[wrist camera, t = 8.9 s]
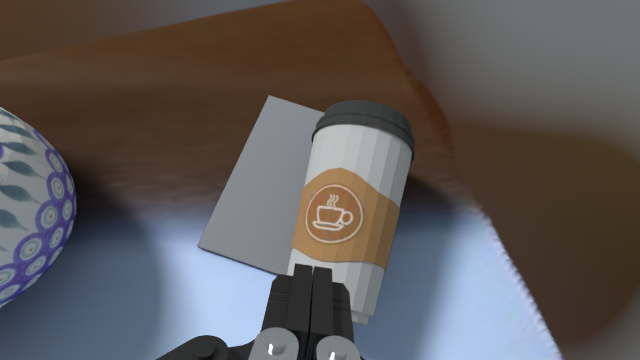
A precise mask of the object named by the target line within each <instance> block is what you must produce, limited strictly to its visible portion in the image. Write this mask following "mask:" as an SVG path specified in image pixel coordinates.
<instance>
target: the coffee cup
mask: <svg viewBox="0 0 640 360" xmlns="http://www.w3.org/2000/svg"><path fill="white" fill-rule="evenodd" d="M311 141H312V143H313V145H312V150H311V155H310V160H309V165H308V170H307V175H306V180H305V186H304V188H303V190H302V195H301V200H300V205H299V211H298V216H297V221H296V226H295V231H294V236H293V241H292V246H291V250H292V251H291V256H290V262H289V267H288V272H287V275H290V276H293V273H294V266H295V263H297V264H304V265H311V266H313V268H314V266H318V267H325V268H331V269H332V282H338V283H344V285H345V286H346V288H347V290H348V291H349V293H350V304H351V315H352V321H353V322H357V323H361V324H365V325H368V321H369V317H370V316H374V313H375V308H376V304H377V300H378V296H379V292H380V287H381V283H382V279H383V275H384V272H385V271H386V268H387V263H388V259H389V255H390V251H391V247H392V243H393V238H394V234H395V230H396V226H397V222H398V217H399V213H400V204H401V199H402V195H403V191H404V187H405V183H406V178H407V174H408V170H409V166H410V163H411V162H412V161H413V160H414V144H415V139H414V137H413V135H412V133H411V125H410V123H409V121H408V120H407V119H406V118H405V117H404V115H402V114H401V113H399V112H398V111H396V110H395V109H393V108H391V107H388V106H386V105H383V104H380V103H376V102H372V101H364V100H348V101H342V102H339V103H335V104H334V105H332V106H330V107H329V108H328V109H327V110H326V112H325V114H324V116H322V117H321V118H320V119H319V121H318V122H317V124H316V129H315V131H314V132H313V134H312V139H311ZM312 273H313V271H312Z"/></svg>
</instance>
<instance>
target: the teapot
mask: <svg viewBox="0 0 640 360" xmlns="http://www.w3.org/2000/svg"><path fill="white" fill-rule="evenodd" d="M75 217H76V191H75V187H74V183H73V179H72V176H71V174H70V172H69V169H68V167H67V165H66V163H65V162H64V160H63V159H62V157H61V156H60V154H59V153H58V151H57V150H56V149H55V148H54V147H53V146H52V145H51V144H50V143H49V142H48V141H47V140H46V139H45V138H44V137H43V136H42V135H41V134H40V133H39V132H38V131H37V130H36V129H34V128H33V127H31V126H30V125H28V124H27V123H25V122H24V121H22V120H21V119H19V118H18V117H16V116H14V115H13V114H11V113H9V112H8V111H6V110H4V109H3V108H2V107H1V106H0V307H2V306H4V305H5V304H7V303H8V302H10V301H11V300H13V299H14V298H16V297H18V296H19V295H21V294H22V293H23V292H25V291H26V290H27V289H28V288H29V287H31V286H32V285H33V284H34V283H35V282H37V281H38V280H39V279H40V278H41V276H42V275H43V274H44V273H45V272H46V271H47V270H48V269H49V268H50V267H51V266H52V264H53V263H54V262H55V260H56V259H57V257H58V256H59V255H60V253H61V252H62V250H63V249H64V247H65V245H66V243H67V240H68V238H69V236H70V234H71V232H72V228H73V224H74V221H75Z"/></svg>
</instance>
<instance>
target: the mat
mask: <svg viewBox="0 0 640 360" xmlns="http://www.w3.org/2000/svg"><path fill="white" fill-rule="evenodd" d="M324 114H325V113H323V112H320V111H316V110H313V109H310V108H307V107H304V106H301V105H298V104H295V103H292V102H289V101H285V100H282V99H279V98H276V97H273V96H270V95H269V97H268V99H267V101H266V103H265V105H264V107H263V109H262V111H261V113H260V115H259V118H258V120H257V122H256V124H255V126H254V128H253V130H252V132H251V134H250V136H249V138H248V141H247V143H246V145H245V147H244V149H243V151H242V153H241V155H240V157H239V159H238V161H237V164H236V166H235V168H234V170H233V172H232V174H231V176H230V178H229V180H228V182H227V184H226V187H225V189H224V191H223V193H222V195H221V197H220V199H219V201H218V203H217V205H216V207H215V210H214V212H213V214H212V216H211V218H210V220H209V222H208V224H207V226H206V228H205V230H204V233H203V235H202V237H201V239H200V241H199V243H198V245H197V246H198V247H199V248H202V249H205V250H208V251H211V252H214V253H217V254H220V255H223V256H226V257H228V258H231V259H234V260H237V261H240V262H243V263H246V264H249V265H252V266H254V267H257V268H260V269H263V270H266V271H269V272H272V273H275V274H278V275H279V274H283V275H287V272H288V267H289V262H290V256H291V251H292V250H291V246H292V241H293V236H294V231H295V226H296V221H297V216H298V211H299V205H300V200H301V195H302V190H303V188H304V186H305V180H306V175H307V170H308V165H309V160H310V155H311V150H312V145H313V143H312V141H311V139H312V134H313V132H314V131H315V129H316V124H317V122H318V121H319V119H320V118H321V117H322V116H324Z"/></svg>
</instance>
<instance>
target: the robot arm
mask: <svg viewBox="0 0 640 360" xmlns="http://www.w3.org/2000/svg"><path fill="white" fill-rule="evenodd" d="M312 271H313V273H312ZM156 360H365V359H364V358H362V357H361V355H360V354H359V351H358V349H357V347H356V346H355V345H354V338H353V327H352V315H351V304H350V293H349V291H348V290H347V288H346V286H345V285H344V283H338V282H332V269H331V268H325V267H318V266H314V268H313V266H311V265H304V264H297V263H295V266H294V273H293V276H290V275H283V274H279V275H278V276H277V277H276V278H275V279H274V281H273V282H272V286H271V290H270V295H269V299H268V303H267V307H266V312H265V316H264V320H263V324H262V329H261V332H260V333H259V334H258V336H257V337H256V338H255V339H254V340H253V341H251V342H250V343H248V344H245V345H241V346H236V347H227V345H226V343H225V342H224V341H223V340H222V339H220V338H218V337H215V336H211V335H204V336H198V337H195V338H193V339H191V340H189V341H187V342H186V343H184V344H182V345H181V346H179V347H177V348H175V349H174V350H172V351H170V352H168V353H167V354H165V355H163V356H161V357H160V358H158V359H156Z"/></svg>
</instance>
